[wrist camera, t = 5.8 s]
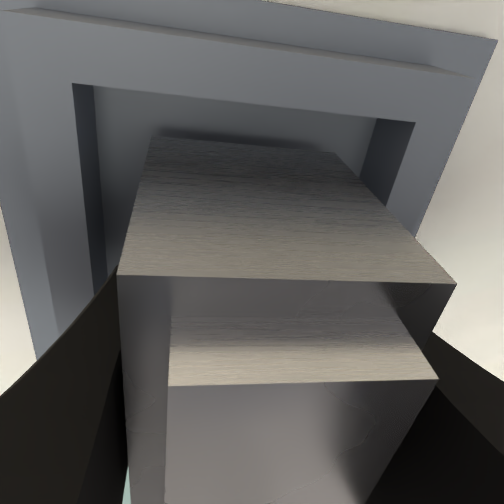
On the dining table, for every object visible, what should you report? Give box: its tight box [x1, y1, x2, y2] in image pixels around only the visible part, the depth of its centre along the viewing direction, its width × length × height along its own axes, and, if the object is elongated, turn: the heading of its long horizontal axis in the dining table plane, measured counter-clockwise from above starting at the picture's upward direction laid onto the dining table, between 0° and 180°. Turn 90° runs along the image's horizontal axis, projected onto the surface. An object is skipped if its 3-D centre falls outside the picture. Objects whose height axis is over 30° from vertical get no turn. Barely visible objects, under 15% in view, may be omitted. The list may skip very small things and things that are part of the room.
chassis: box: [0, 0, 498, 504], centre depth 12 cm, size 12×18×3 cm, turn 172°
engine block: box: [116, 136, 457, 504], centre depth 8 cm, size 4×6×6 cm
